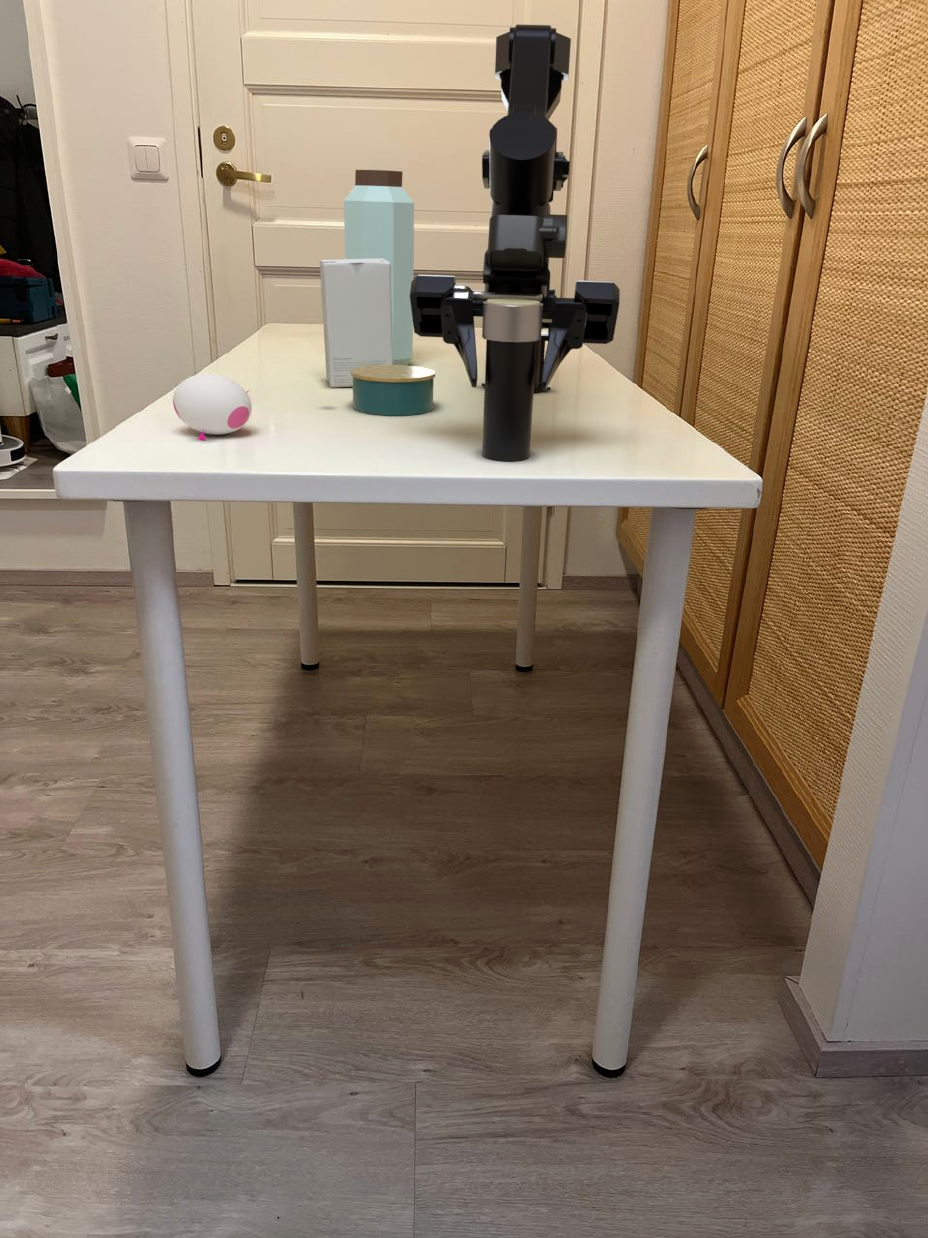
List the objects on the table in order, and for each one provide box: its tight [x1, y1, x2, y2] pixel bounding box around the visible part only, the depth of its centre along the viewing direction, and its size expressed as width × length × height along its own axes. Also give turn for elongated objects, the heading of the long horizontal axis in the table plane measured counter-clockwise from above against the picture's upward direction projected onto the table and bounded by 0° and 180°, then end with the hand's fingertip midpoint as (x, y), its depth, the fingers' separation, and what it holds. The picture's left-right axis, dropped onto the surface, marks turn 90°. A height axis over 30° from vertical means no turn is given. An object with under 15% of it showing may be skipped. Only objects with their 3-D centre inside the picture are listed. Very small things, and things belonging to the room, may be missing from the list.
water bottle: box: [343, 169, 415, 366], centre depth 131 cm, size 10×10×25 cm
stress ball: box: [172, 373, 253, 441], centre depth 92 cm, size 8×8×7 cm
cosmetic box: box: [319, 258, 393, 388], centre depth 117 cm, size 8×6×15 cm
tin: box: [351, 365, 436, 417], centre depth 106 cm, size 9×9×4 cm
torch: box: [481, 298, 543, 462], centre depth 85 cm, size 5×5×14 cm
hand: (508, 385), depth 84 cm, fingers open, 6 cm apart
